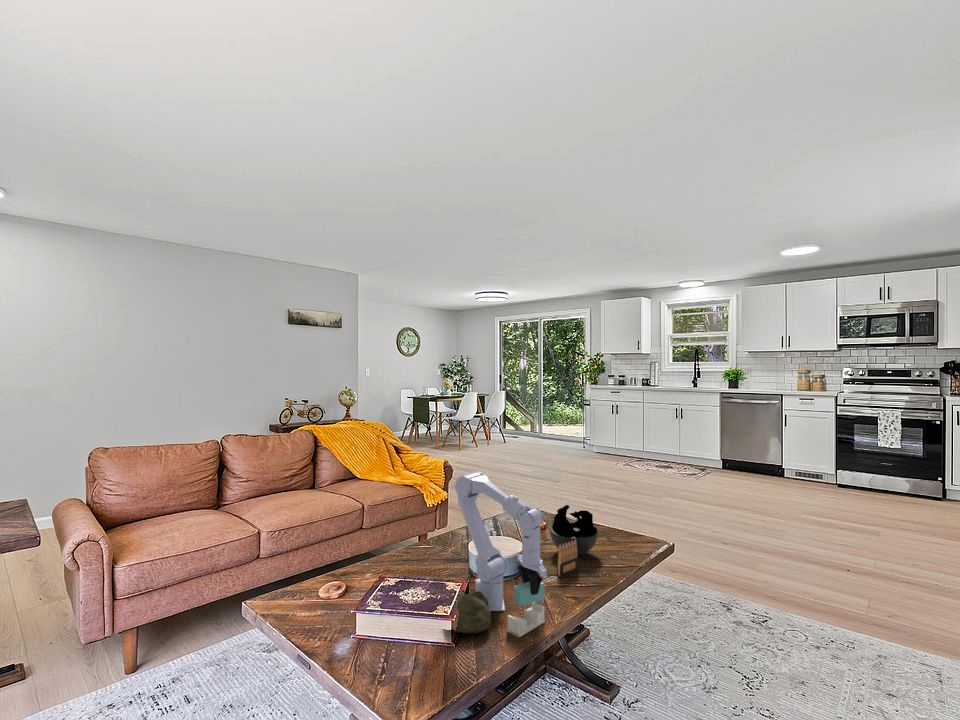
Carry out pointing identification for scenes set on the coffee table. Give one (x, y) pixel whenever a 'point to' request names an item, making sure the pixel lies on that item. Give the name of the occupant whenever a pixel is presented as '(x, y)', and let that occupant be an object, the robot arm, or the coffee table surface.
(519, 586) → the teal block
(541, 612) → the stand
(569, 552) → the ammunition clip
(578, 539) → the coal bowl
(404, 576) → the coffee table surface
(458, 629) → the decorative rock
